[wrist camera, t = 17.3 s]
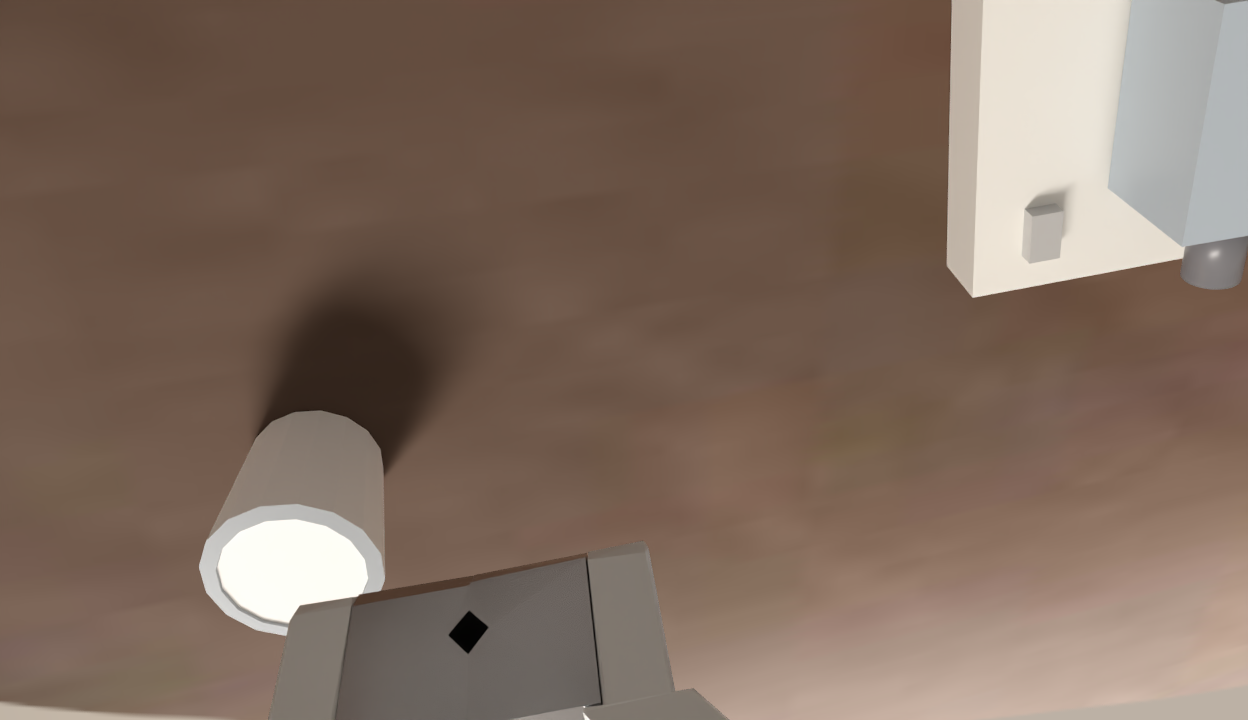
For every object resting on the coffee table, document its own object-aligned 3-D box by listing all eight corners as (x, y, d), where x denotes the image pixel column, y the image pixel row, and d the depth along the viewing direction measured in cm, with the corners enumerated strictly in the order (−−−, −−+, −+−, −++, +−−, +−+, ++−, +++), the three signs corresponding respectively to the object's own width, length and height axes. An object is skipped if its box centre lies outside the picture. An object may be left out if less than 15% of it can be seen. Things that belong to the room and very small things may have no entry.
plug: (1092, -51, 38) (1224, 4, 31) (1256, -78, 38) (1423, -29, 31) (1062, 226, 43) (1168, 323, 37) (1204, 202, 44) (1335, 294, 37)
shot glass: (404, 406, 45) (392, 513, 39) (391, 528, 48) (377, 644, 43) (236, 389, 44) (197, 498, 38) (234, 516, 47) (198, 633, 41)
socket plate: (954, -151, 35) (997, -137, 32) (1417, -235, 36) (1501, -230, 33) (946, 265, 44) (979, 306, 41) (1318, 195, 44) (1377, 231, 41)
